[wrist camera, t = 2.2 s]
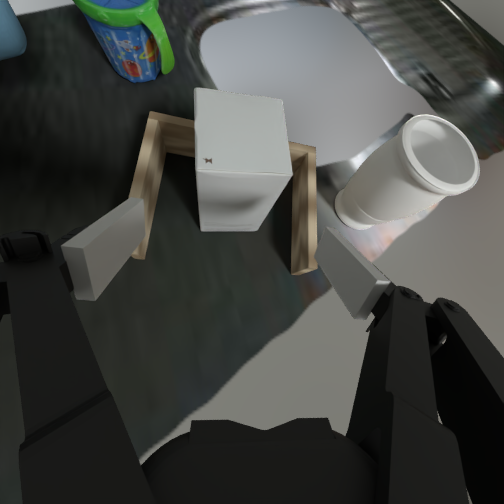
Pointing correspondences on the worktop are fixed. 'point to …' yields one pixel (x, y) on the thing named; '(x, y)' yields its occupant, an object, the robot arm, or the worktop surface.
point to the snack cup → (130, 36)
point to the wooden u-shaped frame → (183, 143)
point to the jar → (409, 174)
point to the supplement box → (238, 158)
